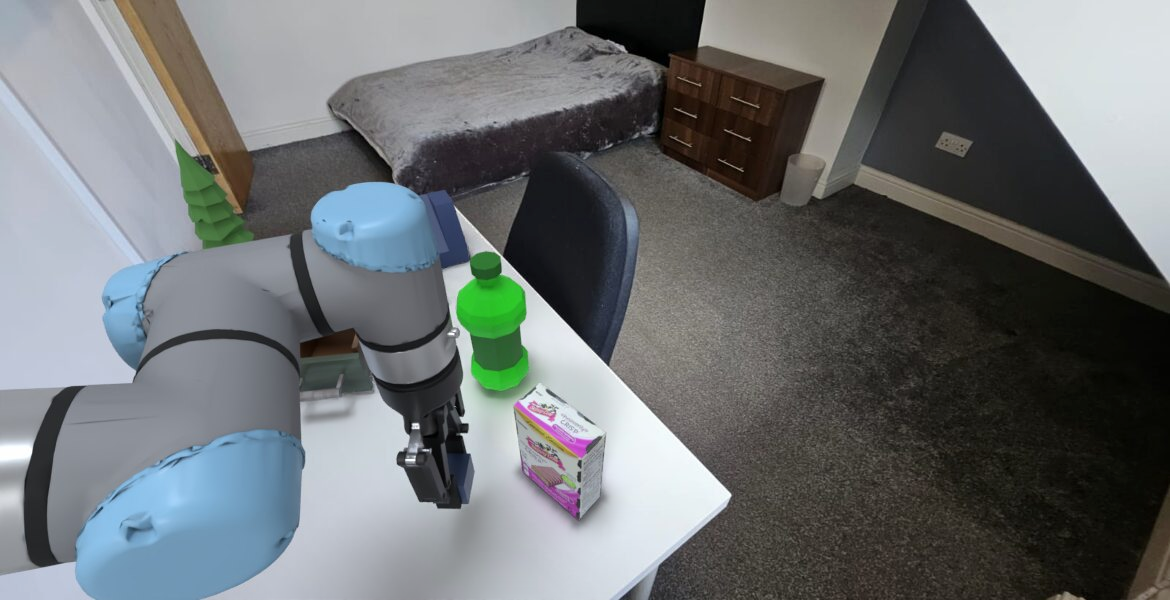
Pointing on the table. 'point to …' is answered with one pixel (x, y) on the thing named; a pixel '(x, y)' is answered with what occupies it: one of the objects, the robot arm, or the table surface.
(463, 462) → the block
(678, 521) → the table surface
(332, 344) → the drawer
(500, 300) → the plastic bottle
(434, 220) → the phone stand
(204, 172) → the decorative tree
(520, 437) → the candy bar box
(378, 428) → the table surface
